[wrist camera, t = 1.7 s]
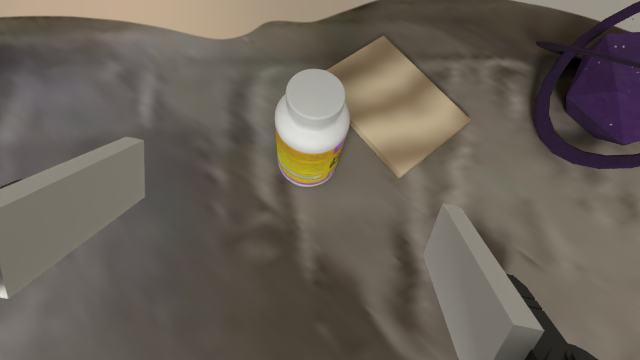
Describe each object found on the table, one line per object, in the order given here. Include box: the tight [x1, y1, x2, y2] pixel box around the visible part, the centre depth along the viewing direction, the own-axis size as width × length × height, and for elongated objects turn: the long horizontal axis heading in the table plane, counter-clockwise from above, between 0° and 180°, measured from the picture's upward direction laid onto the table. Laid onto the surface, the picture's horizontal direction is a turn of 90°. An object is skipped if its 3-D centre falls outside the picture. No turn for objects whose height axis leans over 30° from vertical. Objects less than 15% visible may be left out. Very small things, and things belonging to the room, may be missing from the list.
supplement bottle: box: [275, 69, 350, 187], centre depth 32 cm, size 7×7×13 cm
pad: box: [326, 36, 471, 178], centre depth 41 cm, size 16×12×1 cm
